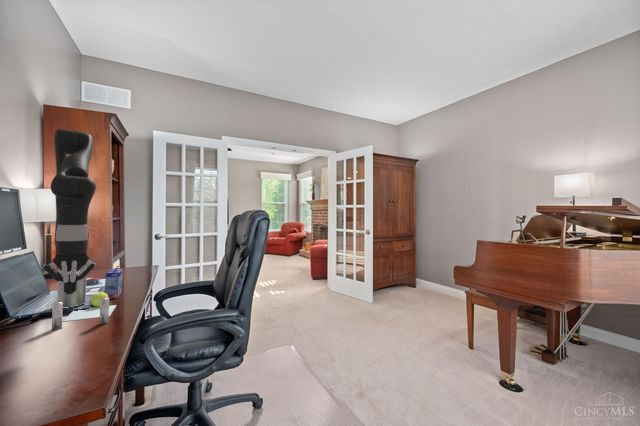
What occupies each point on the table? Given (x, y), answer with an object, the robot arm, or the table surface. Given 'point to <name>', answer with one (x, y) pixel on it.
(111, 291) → the ink cartridge box
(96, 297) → the ball
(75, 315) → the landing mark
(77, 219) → the robot arm
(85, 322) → the table surface
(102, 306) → the post
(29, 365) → the table surface
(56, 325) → the post
